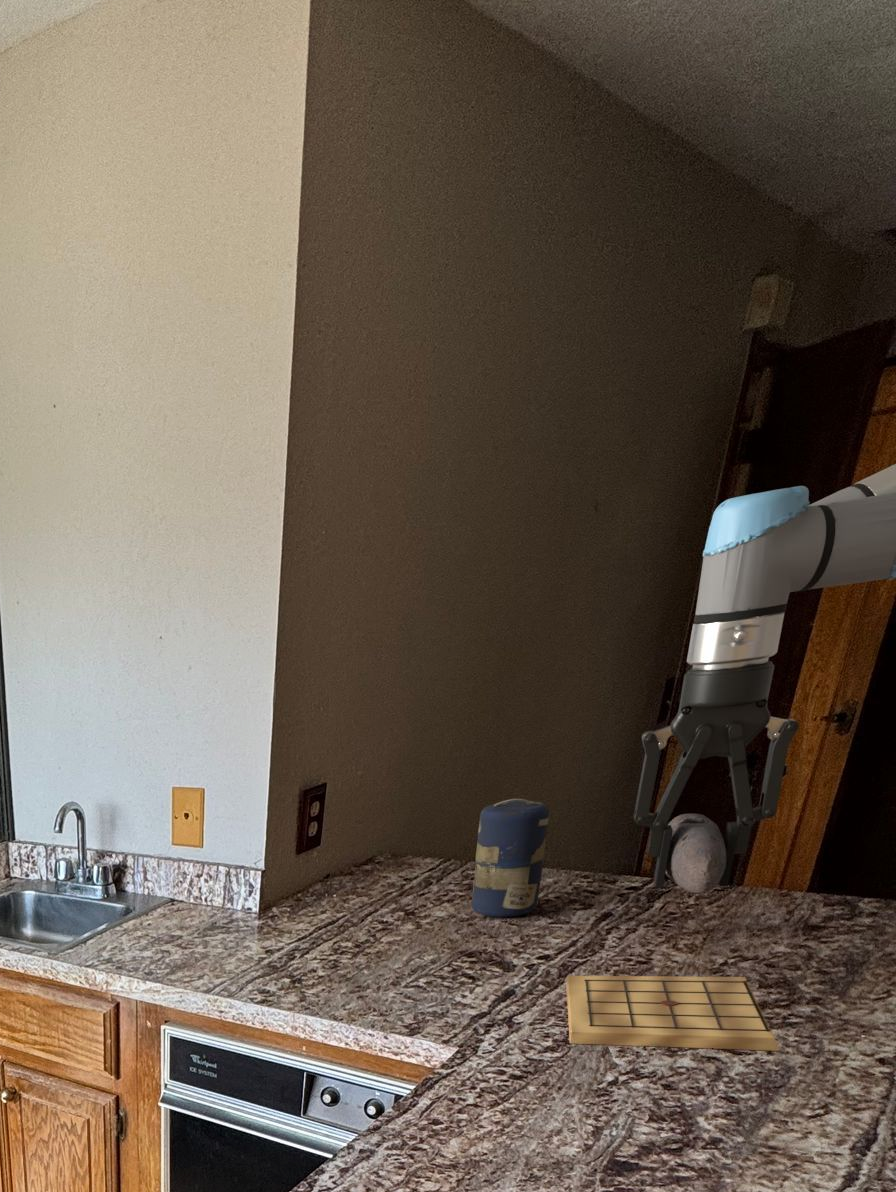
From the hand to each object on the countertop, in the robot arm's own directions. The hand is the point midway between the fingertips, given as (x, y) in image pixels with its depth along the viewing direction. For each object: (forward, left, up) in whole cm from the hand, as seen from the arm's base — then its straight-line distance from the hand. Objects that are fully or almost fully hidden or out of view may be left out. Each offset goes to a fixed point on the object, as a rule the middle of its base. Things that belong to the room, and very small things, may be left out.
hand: (689, 883), depth 114 cm
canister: (+18, -42, -15) cm, 48 cm away
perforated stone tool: (0, 0, 0) cm, 1 cm away
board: (0, +4, -15) cm, 15 cm away
